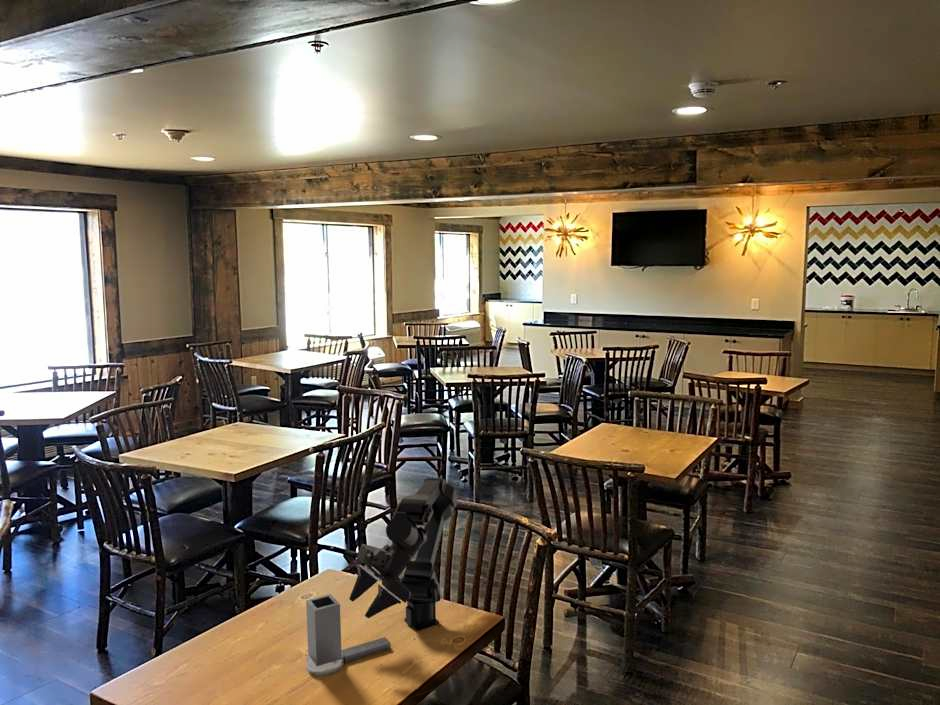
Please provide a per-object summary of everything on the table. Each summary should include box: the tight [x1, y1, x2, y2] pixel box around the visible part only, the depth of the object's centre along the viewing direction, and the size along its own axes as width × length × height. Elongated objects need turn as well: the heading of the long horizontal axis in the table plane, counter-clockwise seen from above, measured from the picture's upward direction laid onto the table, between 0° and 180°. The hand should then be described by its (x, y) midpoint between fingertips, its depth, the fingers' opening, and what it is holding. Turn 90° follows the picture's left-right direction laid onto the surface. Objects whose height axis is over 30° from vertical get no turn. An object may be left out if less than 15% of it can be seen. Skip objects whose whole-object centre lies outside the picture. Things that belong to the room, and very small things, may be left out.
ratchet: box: [305, 636, 392, 677], centre depth 157 cm, size 19×8×4 cm, turn 121°
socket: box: [305, 593, 342, 666], centre depth 154 cm, size 6×6×12 cm
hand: (358, 608), depth 157 cm, fingers open, 9 cm apart
